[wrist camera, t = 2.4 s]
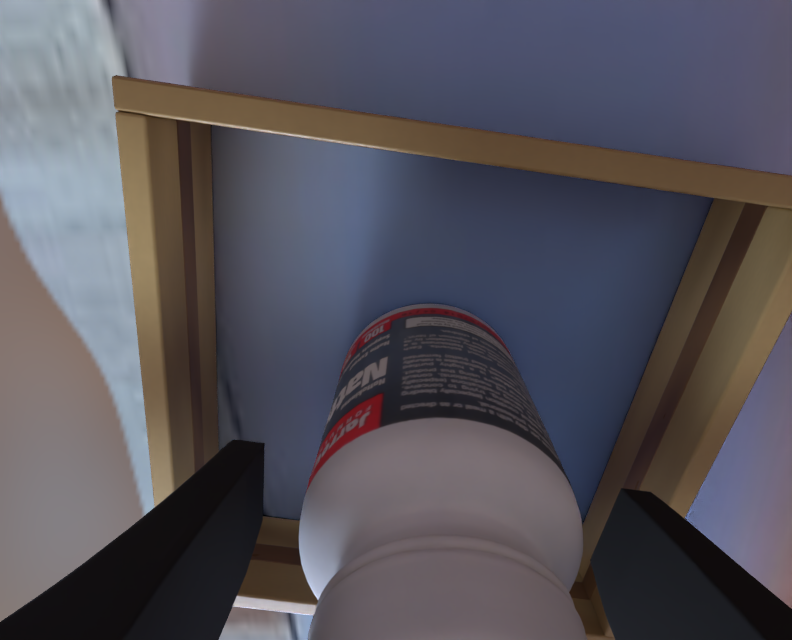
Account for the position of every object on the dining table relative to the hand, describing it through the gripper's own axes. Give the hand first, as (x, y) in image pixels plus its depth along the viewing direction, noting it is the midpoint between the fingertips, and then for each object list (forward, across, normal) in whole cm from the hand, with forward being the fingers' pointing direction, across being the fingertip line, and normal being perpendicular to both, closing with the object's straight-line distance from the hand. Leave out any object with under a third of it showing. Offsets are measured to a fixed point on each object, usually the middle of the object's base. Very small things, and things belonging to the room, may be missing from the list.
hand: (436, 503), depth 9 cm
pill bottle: (+5, 0, 0) cm, 5 cm away
